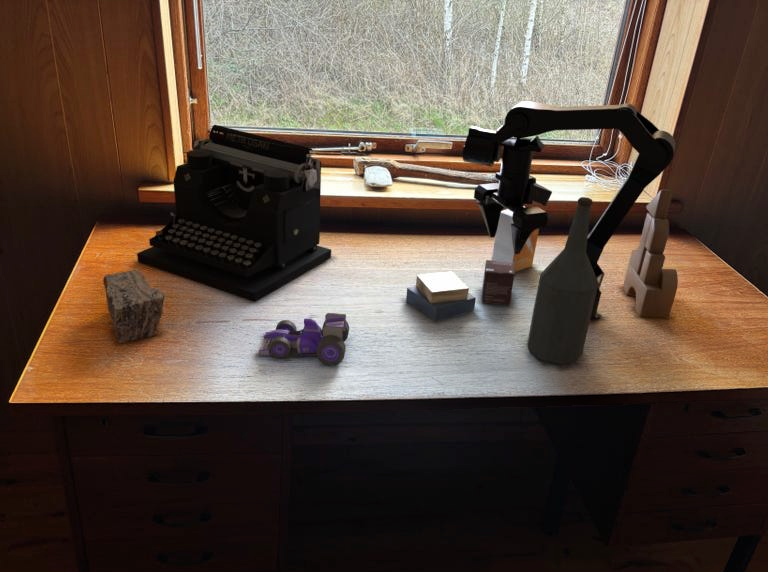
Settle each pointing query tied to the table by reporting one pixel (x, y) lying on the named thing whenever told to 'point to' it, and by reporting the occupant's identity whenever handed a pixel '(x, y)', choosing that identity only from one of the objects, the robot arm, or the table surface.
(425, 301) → the stack base
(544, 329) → the bottle
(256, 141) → the typewriter
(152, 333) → the stone block
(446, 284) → the stack top
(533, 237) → the small box
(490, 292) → the box
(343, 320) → the toy race car
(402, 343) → the table surface
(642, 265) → the wooden toy
